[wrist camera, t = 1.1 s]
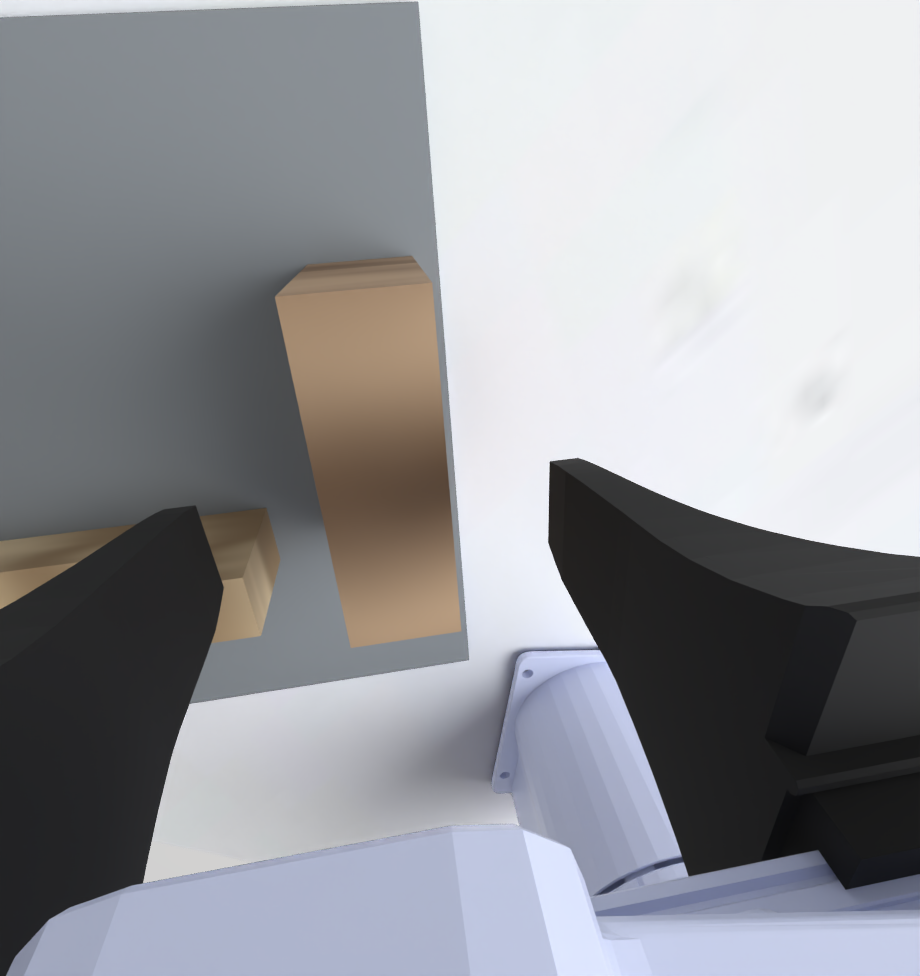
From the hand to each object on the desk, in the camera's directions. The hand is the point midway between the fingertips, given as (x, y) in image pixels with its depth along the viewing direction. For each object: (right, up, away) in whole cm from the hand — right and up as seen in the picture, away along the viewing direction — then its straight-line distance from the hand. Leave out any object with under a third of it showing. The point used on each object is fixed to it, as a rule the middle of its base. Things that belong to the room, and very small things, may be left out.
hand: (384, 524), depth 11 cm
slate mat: (-8, +2, +7) cm, 10 cm away
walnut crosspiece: (-1, +3, +7) cm, 7 cm away
